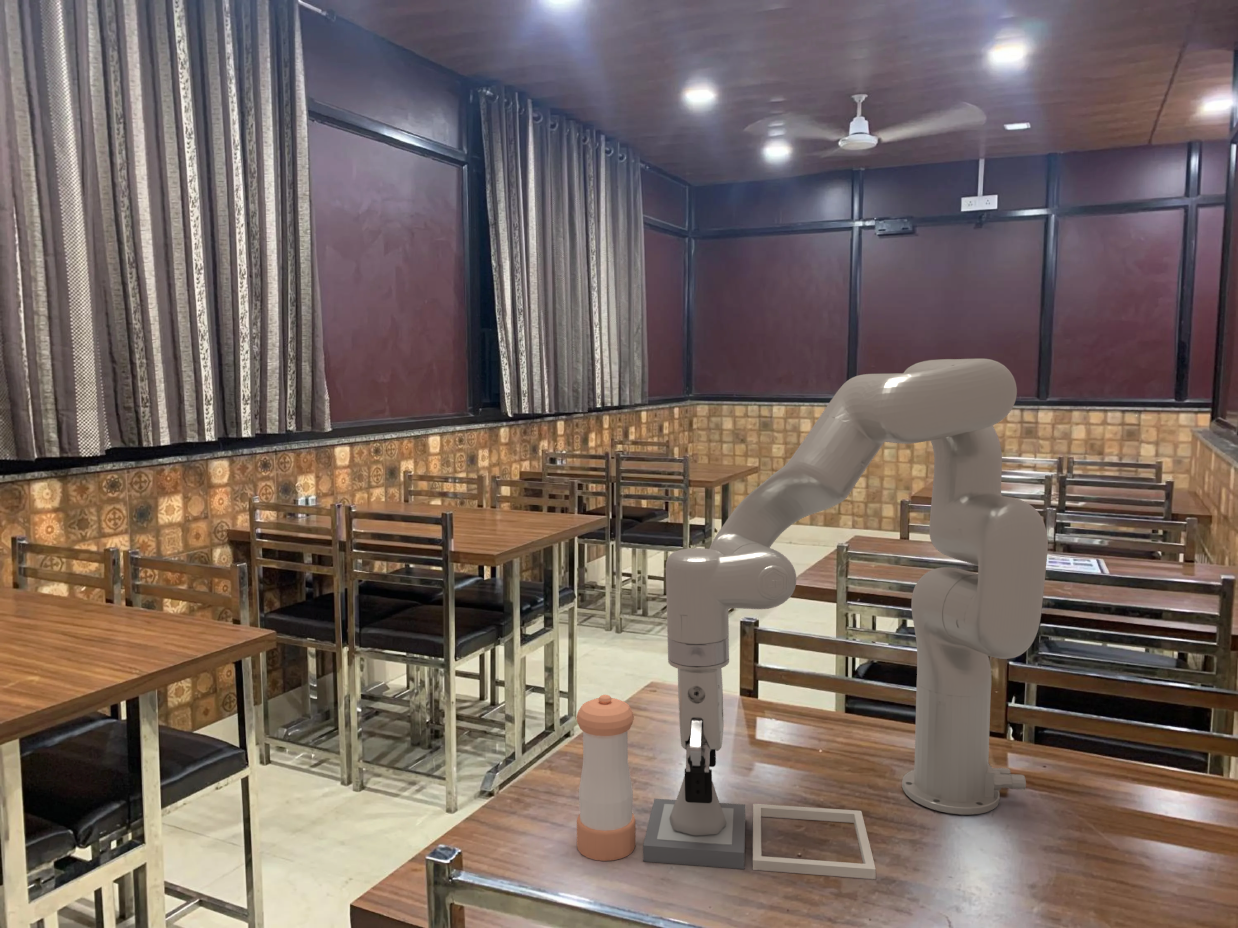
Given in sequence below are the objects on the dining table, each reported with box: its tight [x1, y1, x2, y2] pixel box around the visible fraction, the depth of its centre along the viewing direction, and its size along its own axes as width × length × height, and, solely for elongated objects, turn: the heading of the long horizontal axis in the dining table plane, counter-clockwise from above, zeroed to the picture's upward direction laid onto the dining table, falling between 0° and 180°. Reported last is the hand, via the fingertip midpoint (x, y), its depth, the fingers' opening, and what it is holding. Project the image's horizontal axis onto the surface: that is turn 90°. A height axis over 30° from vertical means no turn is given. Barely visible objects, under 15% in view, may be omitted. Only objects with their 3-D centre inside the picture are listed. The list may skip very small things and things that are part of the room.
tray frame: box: [752, 803, 877, 880], centre depth 109 cm, size 14×14×1 cm
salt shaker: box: [576, 694, 637, 862], centre depth 108 cm, size 7×7×19 cm
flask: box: [669, 742, 727, 835], centre depth 110 cm, size 7×7×10 cm
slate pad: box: [642, 798, 746, 870], centre depth 111 cm, size 12×12×2 cm
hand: (701, 782), depth 110 cm, fingers open, 9 cm apart
